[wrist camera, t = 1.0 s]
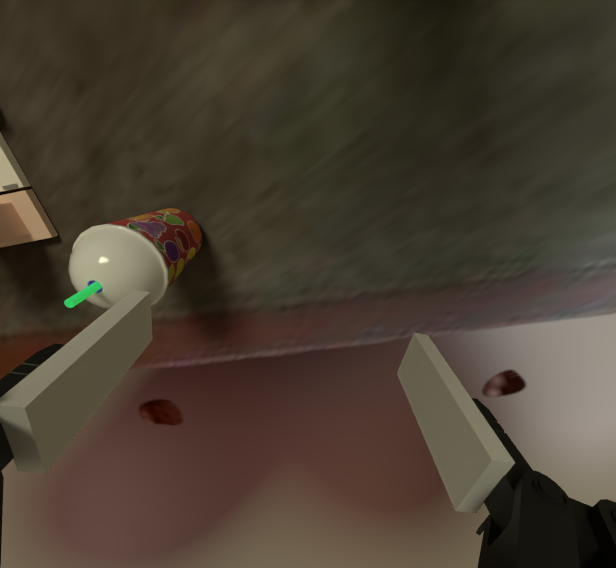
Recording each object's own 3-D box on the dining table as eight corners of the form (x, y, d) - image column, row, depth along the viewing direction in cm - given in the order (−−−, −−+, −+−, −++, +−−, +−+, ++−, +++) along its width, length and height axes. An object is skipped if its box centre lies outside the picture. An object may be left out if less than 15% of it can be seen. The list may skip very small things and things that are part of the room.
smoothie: (141, 246, 39) (0, 327, 21) (156, 188, 36) (5, 225, 18) (200, 270, 41) (118, 365, 22) (219, 217, 37) (142, 278, 19)
